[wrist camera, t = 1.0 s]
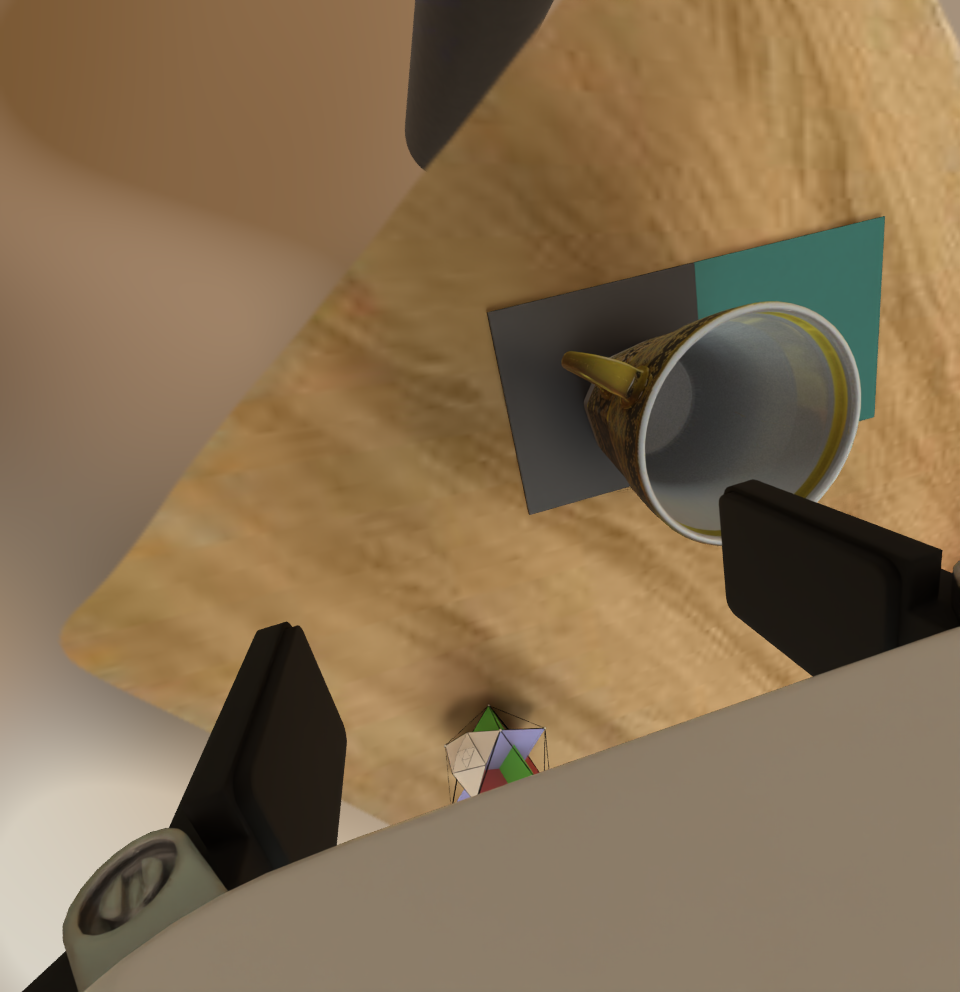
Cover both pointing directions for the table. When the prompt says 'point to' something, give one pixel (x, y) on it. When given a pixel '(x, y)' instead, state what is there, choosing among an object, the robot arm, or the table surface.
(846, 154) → the table surface
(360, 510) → the table surface
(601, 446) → the ceramic cup
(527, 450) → the plate
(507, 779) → the geometric puzzle
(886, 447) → the table surface
